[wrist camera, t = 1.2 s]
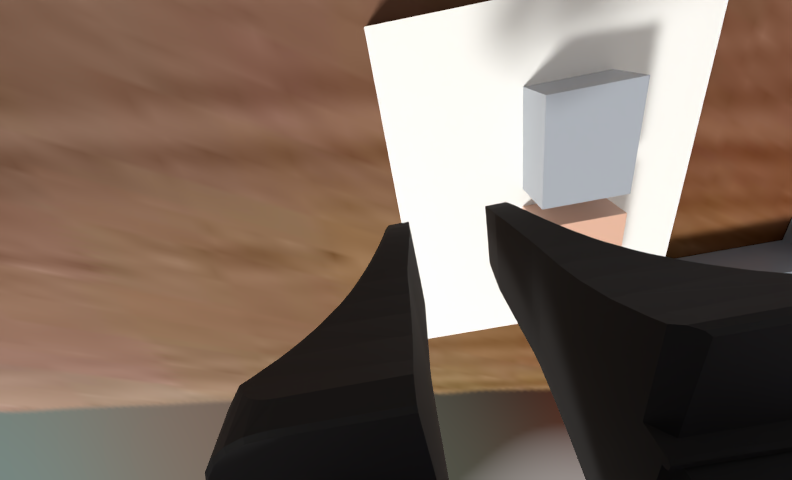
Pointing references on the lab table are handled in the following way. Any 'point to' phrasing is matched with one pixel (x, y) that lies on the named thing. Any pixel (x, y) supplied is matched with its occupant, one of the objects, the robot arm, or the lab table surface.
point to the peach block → (588, 219)
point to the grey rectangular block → (582, 136)
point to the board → (503, 123)
